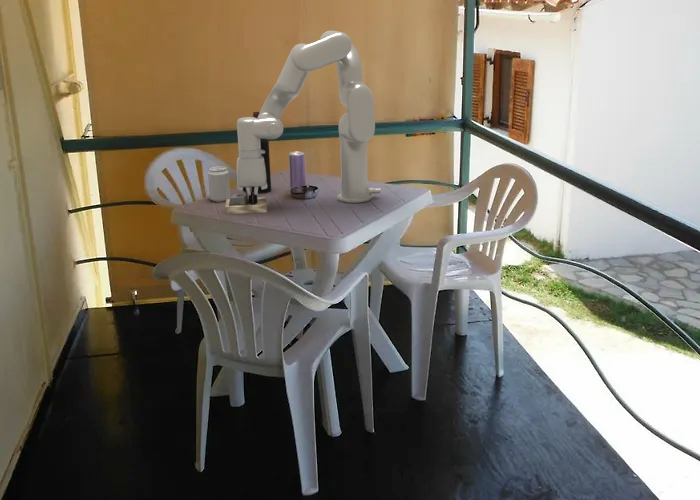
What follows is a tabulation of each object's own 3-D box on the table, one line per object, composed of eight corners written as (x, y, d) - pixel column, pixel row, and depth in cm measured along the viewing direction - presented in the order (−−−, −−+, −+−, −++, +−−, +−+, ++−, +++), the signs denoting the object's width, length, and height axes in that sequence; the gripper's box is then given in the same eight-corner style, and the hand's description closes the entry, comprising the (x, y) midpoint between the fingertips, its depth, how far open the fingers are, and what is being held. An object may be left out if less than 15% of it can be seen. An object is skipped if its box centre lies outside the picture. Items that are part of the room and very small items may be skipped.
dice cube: (249, 207, 257) (247, 193, 255) (245, 211, 252) (243, 197, 251) (235, 207, 258) (233, 194, 256) (231, 212, 253) (229, 198, 251)
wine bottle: (268, 193, 275) (264, 114, 265) (249, 193, 276) (244, 113, 266) (273, 188, 282) (269, 110, 272) (254, 188, 283) (249, 110, 273)
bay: (266, 204, 262) (266, 197, 261) (267, 212, 252) (266, 205, 251) (227, 205, 260) (226, 199, 259) (225, 214, 251) (225, 207, 250)
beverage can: (303, 194, 274) (302, 155, 268) (288, 193, 275) (286, 154, 270) (307, 190, 279) (306, 151, 274) (292, 189, 280) (291, 151, 275)
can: (216, 203, 263) (214, 171, 259) (206, 199, 269) (203, 167, 265) (234, 199, 268) (232, 167, 264) (224, 195, 273) (221, 164, 269)
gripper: (271, 150, 254) (274, 201, 260) (228, 152, 253) (232, 203, 259) (271, 155, 247) (274, 207, 253) (227, 157, 245) (231, 209, 252)
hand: (253, 205), depth 256 cm, fingers closed
